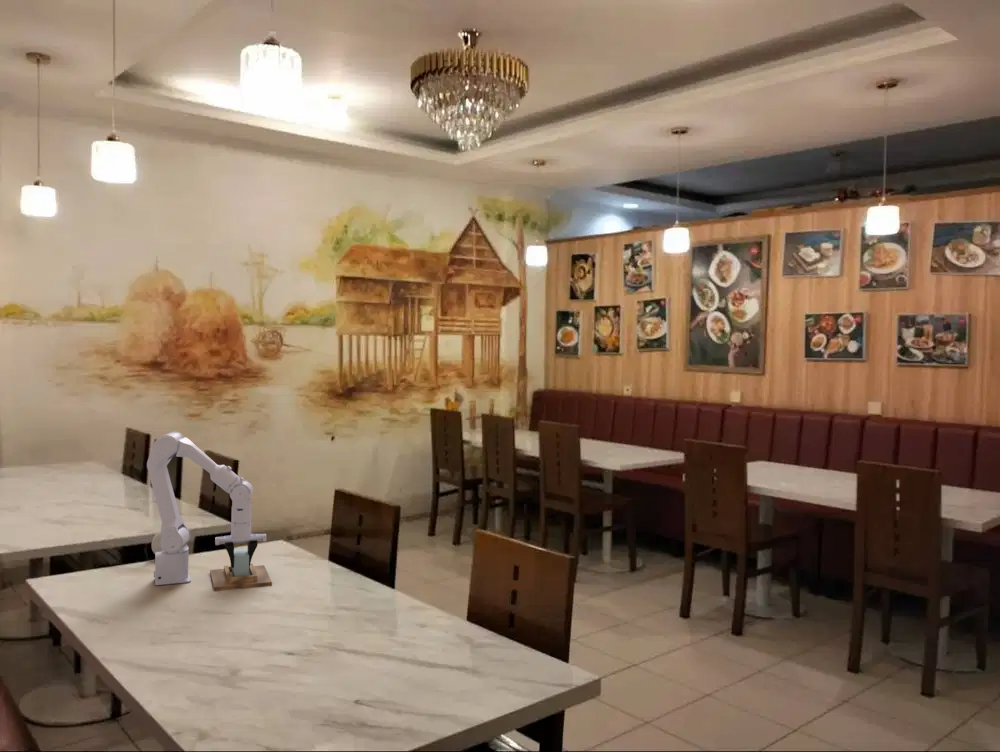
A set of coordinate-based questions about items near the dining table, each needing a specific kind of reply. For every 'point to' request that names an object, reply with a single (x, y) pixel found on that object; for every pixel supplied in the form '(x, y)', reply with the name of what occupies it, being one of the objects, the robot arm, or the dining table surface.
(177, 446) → the robot arm
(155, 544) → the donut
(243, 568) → the tall light blue prism
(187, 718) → the dining table surface
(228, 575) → the cradle
